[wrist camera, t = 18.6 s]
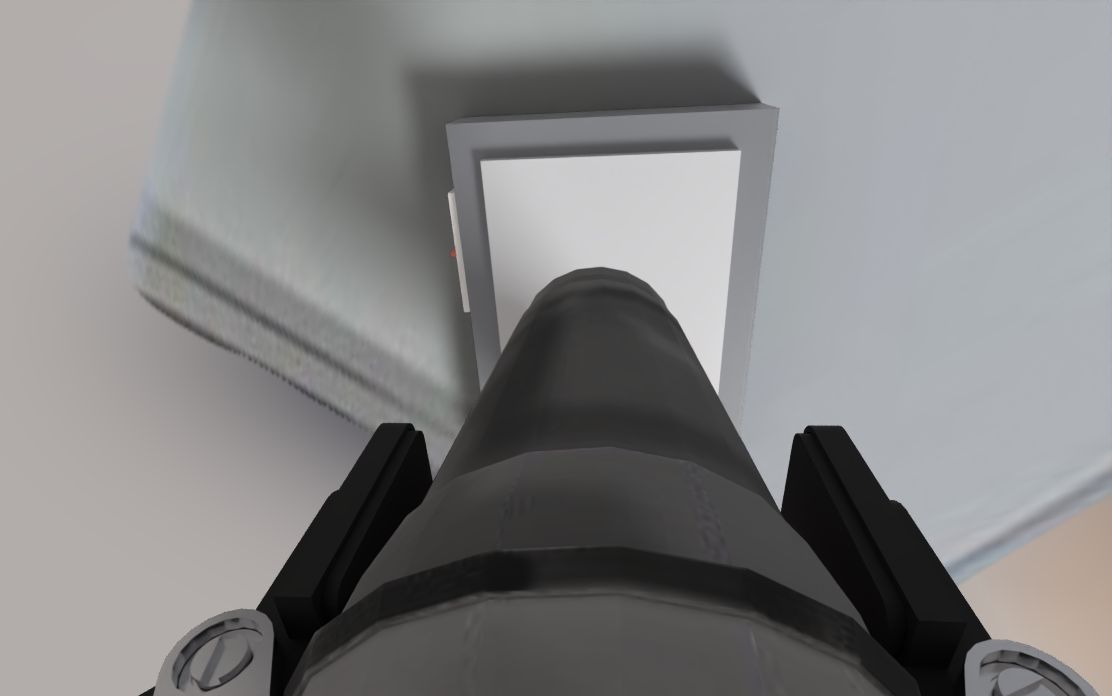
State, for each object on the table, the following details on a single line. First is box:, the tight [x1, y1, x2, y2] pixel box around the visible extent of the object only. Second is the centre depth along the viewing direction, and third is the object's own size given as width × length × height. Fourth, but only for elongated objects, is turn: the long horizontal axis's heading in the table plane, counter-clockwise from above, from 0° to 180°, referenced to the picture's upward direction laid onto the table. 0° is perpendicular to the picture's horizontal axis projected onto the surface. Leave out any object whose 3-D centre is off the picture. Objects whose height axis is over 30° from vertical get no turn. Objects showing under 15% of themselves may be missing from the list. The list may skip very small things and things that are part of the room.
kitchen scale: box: [445, 103, 780, 436], centre depth 29 cm, size 20×15×4 cm
